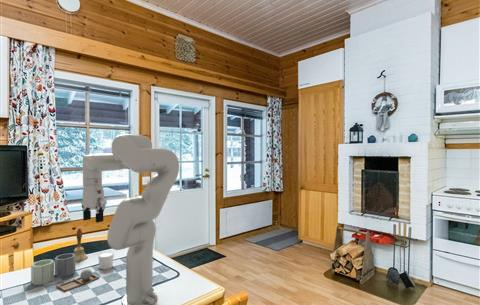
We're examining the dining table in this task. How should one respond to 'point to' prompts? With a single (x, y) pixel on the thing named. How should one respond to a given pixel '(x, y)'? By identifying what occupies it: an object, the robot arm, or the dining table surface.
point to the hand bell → (79, 248)
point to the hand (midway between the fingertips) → (93, 220)
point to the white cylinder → (106, 260)
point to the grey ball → (86, 274)
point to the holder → (76, 283)
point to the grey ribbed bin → (64, 265)
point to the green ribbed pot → (42, 272)
